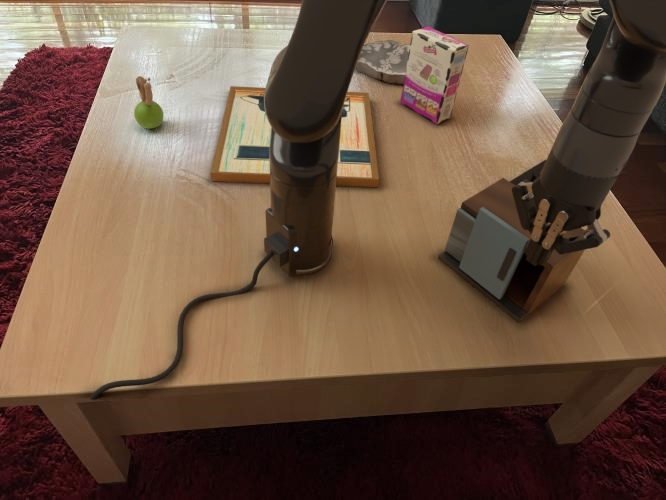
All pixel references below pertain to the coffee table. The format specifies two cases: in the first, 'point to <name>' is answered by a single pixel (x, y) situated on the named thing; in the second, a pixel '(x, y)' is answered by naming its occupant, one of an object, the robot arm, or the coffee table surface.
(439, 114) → the candy bar box
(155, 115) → the snail figurine
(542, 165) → the button box
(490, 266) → the gray sliding door
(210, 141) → the coffee table surface
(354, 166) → the picture frame
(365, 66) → the grey flat irregular slab
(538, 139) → the coffee table surface
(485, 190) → the cabinet
